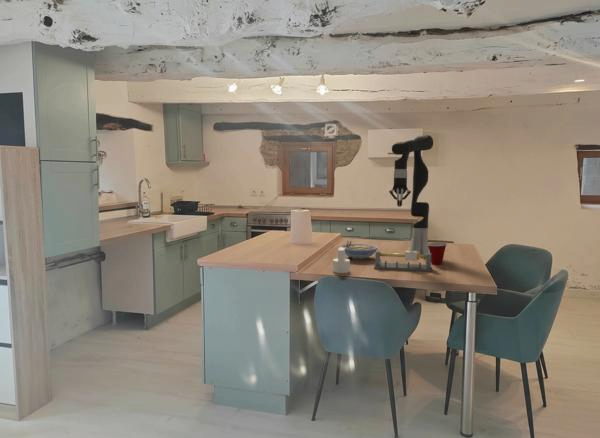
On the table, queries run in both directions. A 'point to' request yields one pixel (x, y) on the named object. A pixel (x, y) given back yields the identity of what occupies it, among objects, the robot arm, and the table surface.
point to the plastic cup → (437, 252)
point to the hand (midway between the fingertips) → (399, 206)
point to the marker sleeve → (411, 253)
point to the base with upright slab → (341, 262)
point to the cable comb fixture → (403, 266)
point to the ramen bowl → (359, 250)
